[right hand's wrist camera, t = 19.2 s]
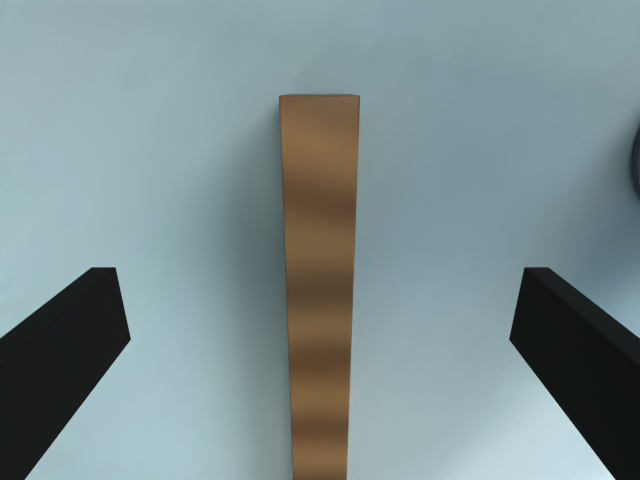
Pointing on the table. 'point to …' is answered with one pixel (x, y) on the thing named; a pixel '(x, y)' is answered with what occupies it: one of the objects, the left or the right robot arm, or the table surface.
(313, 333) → the bar
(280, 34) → the table surface
